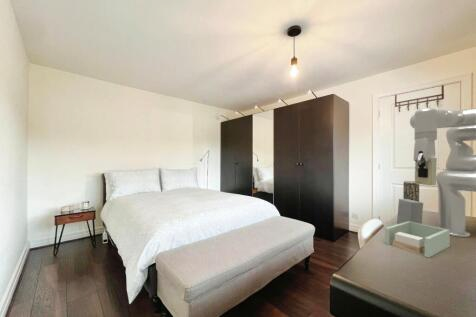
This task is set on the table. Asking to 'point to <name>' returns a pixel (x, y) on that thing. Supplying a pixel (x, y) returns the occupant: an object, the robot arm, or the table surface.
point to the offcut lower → (409, 247)
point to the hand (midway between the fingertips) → (425, 176)
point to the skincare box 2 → (431, 173)
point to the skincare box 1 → (409, 211)
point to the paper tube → (411, 190)
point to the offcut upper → (409, 239)
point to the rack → (431, 235)
